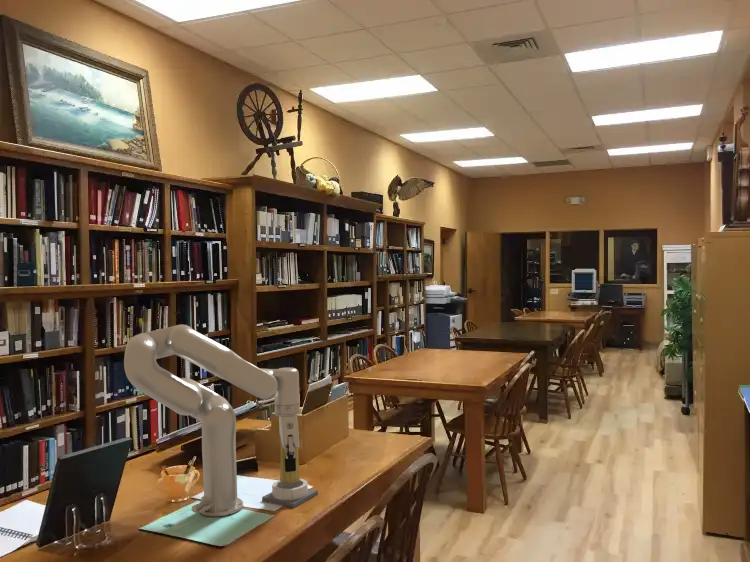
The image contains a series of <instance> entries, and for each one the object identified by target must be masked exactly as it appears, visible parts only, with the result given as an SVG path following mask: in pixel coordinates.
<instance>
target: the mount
mask: <svg viewBox="0 0 750 562" xmlns="http://www.w3.org/2000/svg"><path fill="white" fill-rule="evenodd" d="M271 489H272V491H271V492H269V493H267V494H266V495H263V496H262V497H261V499H262V500H261V501H262V502H264V501H266V502H265V503H269V502H271V503H270V504H274V503H275V505H278V504H279V505H278V506H283V507H287V506H288V507H289V508H294V507H295V508H296V507H298V506H300V505H301V504H303V503H305V502H308V501H309V500H310V499H313V498H314V497H316V496H318V494H319V490H317V489H312V488H308V481H307V480H306V479H304V478H300V480H299V481H297V482H293V483H283V482H281V481H280V479H279V480H277V481H275V482H273V484H272V486H271ZM295 508H294V509H295Z"/></svg>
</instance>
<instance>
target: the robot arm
mask: <svg viewBox="0 0 750 562" xmlns="http://www.w3.org/2000/svg"><path fill="white" fill-rule="evenodd" d="M173 355H175V356H177V357H180V358H182V359H184V360H185V361H187V362H189V363H191V364H193V365H196V367H197V366H198V367H199V368H201V369H203V370H205V371H207V372H208V373H211V374H212V375H214V376H216V377H218V378H220V379H222V380H224V381H226V382H228V383H230V384H232V385H234V386H235V387H237V388H240V389H241V390H243V391H245V392H247V393H249V394H250V395H253V396H254V397H257V398H259V399H265V400H266V399H269V398H272V397H273V396H274V397H273V398H274V415H275V416H277V417H278V423H279V425H278V426H279V427H278V429H279V437H280V436H281V442H282V447H283V448H284V449H285V455H286V458H285V472H292V471H296V457H295V448H294V444H295V447H297V448H298V449H299V448H300V437H299V436H300V434H299V422H298V415H300V414H301V406H300V403H301V402H300V401H301V400H300V375H299V374H300V373H299V370H298V369H297V368H295V367H279V368H259V367H258V366H256V365H254V364H252V363H251V362H248V361H247V360H245V359H244V358H242V357H241V356H239V355H238V354H237V353H236V352H234V351H233V350H232V349H230V348H228V347H226V345H223V344H222V343H219V342H217V341H215V340H214V339H212V338H210V337H208V336H206V335H205V334H202V333H201V332H199V331H197V330H195V329H193V328H192V326H189V325H188V324H177V325H172V326H169V327H165V328H159V329H156V330H152V331H147V332H142V333H137V334H136V335H134V336H132V337H130V339H129V340H128V342H127V343H126V346H125V350H124V358H123V367H124V372H125V375H126V378H127V380H128V381H129V383H130V384H131V385H132V386H133V387H134V388H135V389H136V390H138V391H140V392H141V393H143V394H144V395H147V397H150V398H151V399H153V400H155V401H156V402H158V403H160V404H161V405H163V406H165V407H167V408H169V409H170V410H171V411H174V413H176V414H178V415H180V416H190V417H192V418H193V419H196V420H197V421H199V422H200V423H201V453H202V454H201V457H202V474H203V475H202V476H203V477H202V479H203V496H201V498H200V500H201V501H199V502H198V503H196V504H194V505H192V506H191V511H192V513H197V512H199V514H200V515H202V516H206V517H212V518H213V517H223V516H224V517H225V516H229V514H230V515H232V514H235V513H237V512H239V511H240V510H242V509H243V507H244V501H243V500H242V499H240V498H238V477H237V475H238V474H237V452H236V451H237V450H236V449H237V448H236V443H237V441H236V436H237V435H236V434H237V433H236V432H237V417H236V413H235V410H234V408H233V406H232V405H231V404H230V403H229V402H228V400H227V399H226V398H225V397H224V396H223V395H222V396H221V395H220V394H219V393H216V392H215V391H213V390H211V389H210V388H208V387H206V386H204V385H203V384H201V383H199V382H198V381H196V380H194V379H191V378H187V377H182V378H181V377H178V376H177V375H175V374H173V373H172V372H170V371H169V370H167V369H165V368H163V367H161V366H160V365H159V364H158V362H157V360H158V359H161V358H162V359H163V358H166V357H170V356H173ZM286 445H287V446H289V448H287V447H286ZM287 450H289V451H288V452H287Z"/></svg>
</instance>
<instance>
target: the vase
mask: <svg viewBox="0 0 750 562" xmlns="http://www.w3.org/2000/svg"><path fill="white" fill-rule="evenodd" d="M279 441H280V442H279V443H280V444H279V445H280V476H279V480H280V481H281V482H283V483H293V482H297V481H299V480H300V479H301V475H300V474H301V473H300V463H299V448H297V447H295V444H294V448H295V457H296V471H292V472H285V458H286V455H285V449H284V448H283V447H282V442H281V436H280V435H279ZM286 447H287V448H289V446H287V445H286ZM288 451H289V450H287V452H288Z"/></svg>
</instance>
